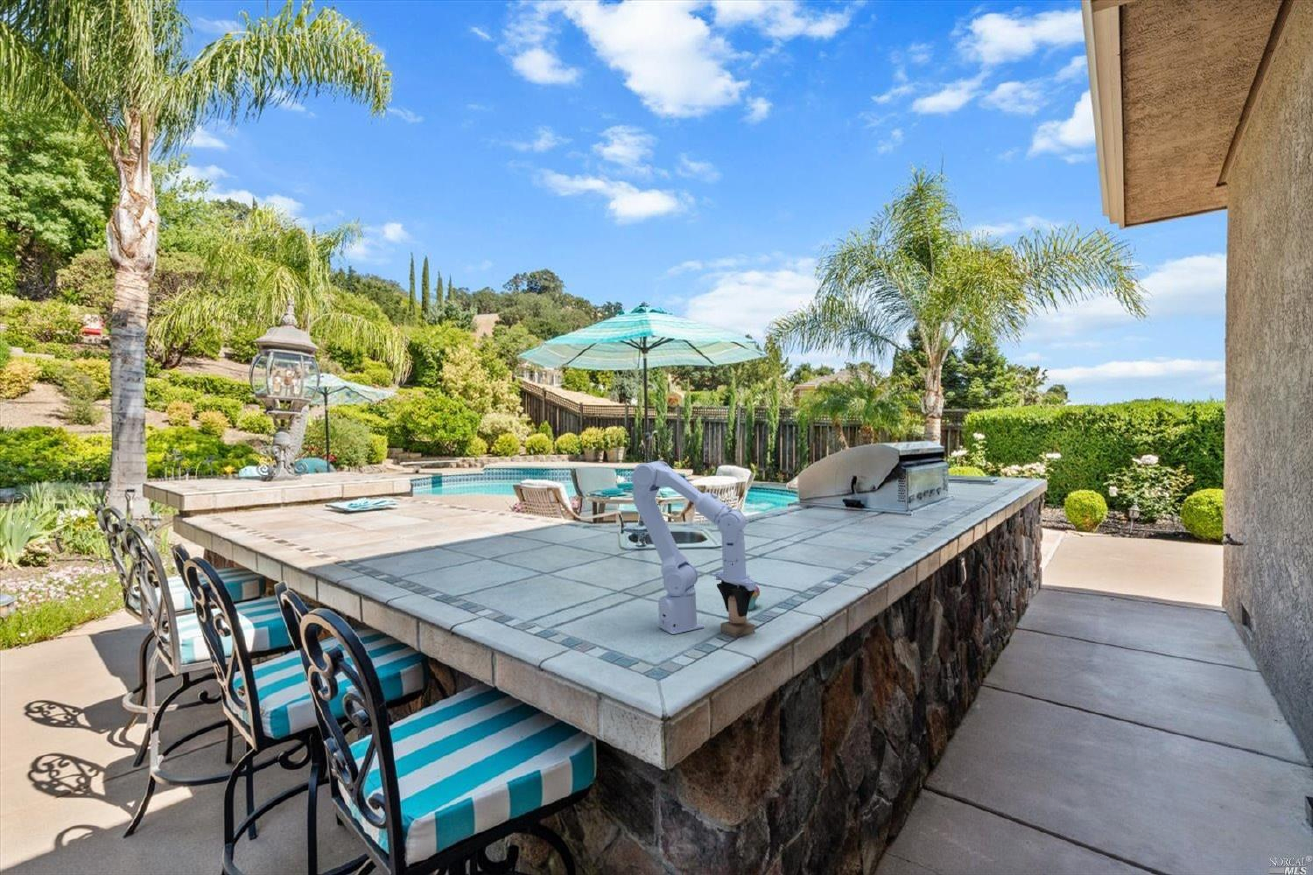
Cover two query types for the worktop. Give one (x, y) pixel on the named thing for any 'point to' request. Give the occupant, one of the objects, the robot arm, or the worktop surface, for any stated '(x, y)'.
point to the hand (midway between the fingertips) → (736, 613)
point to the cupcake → (753, 598)
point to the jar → (734, 611)
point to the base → (737, 628)
